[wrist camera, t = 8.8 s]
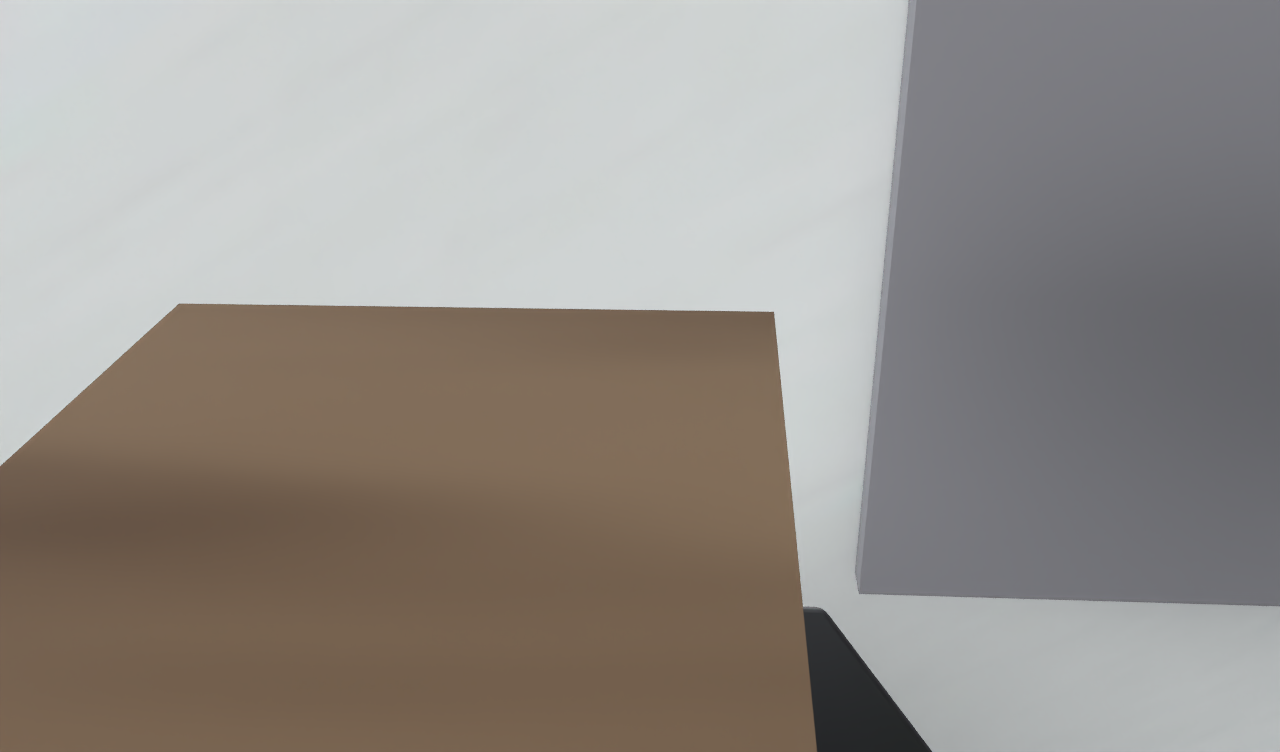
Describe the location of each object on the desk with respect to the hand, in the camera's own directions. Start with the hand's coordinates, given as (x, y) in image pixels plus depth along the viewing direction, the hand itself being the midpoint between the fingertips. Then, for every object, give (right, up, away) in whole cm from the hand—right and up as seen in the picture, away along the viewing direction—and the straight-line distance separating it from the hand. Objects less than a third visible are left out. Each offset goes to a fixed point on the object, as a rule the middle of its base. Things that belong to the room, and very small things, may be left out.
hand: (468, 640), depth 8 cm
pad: (+10, +3, +9) cm, 13 cm away
